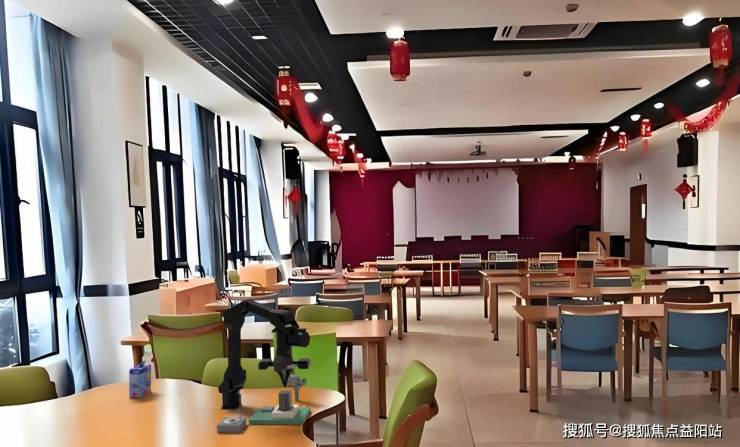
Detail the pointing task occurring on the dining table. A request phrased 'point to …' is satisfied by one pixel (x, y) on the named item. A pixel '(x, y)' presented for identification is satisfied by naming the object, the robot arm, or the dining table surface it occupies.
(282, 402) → the plug
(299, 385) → the mechanical component
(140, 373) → the ink cartridge box
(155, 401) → the dining table surface
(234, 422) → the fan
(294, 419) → the board
